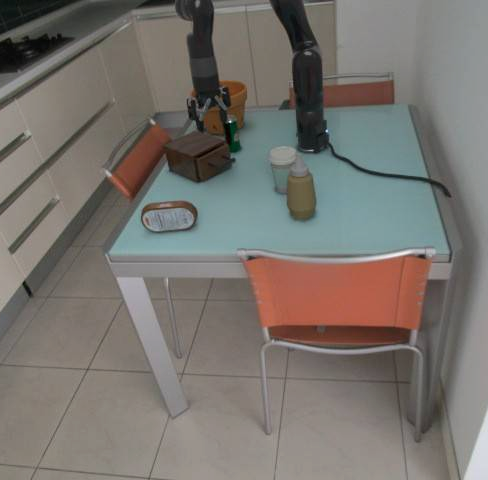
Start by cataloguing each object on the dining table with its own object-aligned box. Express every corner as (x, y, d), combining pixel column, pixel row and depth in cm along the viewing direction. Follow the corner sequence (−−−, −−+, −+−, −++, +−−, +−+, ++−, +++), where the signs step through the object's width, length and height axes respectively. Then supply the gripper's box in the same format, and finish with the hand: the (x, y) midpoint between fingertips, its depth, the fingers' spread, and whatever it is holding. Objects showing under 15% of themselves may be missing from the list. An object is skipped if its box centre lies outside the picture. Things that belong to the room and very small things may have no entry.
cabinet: (229, 165, 154) (225, 139, 149) (197, 182, 147) (192, 156, 141) (200, 154, 163) (195, 130, 157) (169, 170, 155) (163, 145, 150)
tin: (200, 223, 128) (194, 197, 123) (199, 230, 125) (193, 203, 120) (146, 228, 128) (138, 202, 123) (144, 235, 126) (135, 209, 121)
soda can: (238, 153, 161) (234, 120, 154) (225, 153, 162) (219, 120, 155) (242, 146, 165) (238, 114, 158) (228, 146, 166) (223, 114, 159)
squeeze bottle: (297, 226, 123) (292, 164, 112) (282, 212, 128) (276, 153, 118) (323, 216, 125) (321, 155, 114) (307, 203, 131) (304, 144, 120)
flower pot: (188, 138, 176) (180, 99, 167) (209, 116, 192) (202, 80, 183) (241, 139, 170) (235, 100, 161) (257, 117, 186) (253, 79, 177)
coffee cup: (303, 182, 141) (301, 146, 134) (295, 197, 134) (292, 159, 127) (276, 180, 143) (273, 144, 136) (267, 194, 137) (263, 157, 130)
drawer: (243, 169, 149) (240, 148, 145) (214, 186, 142) (210, 164, 138) (205, 155, 160) (201, 135, 156) (176, 170, 153) (171, 149, 149)
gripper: (192, 81, 123) (202, 138, 133) (232, 67, 131) (239, 122, 141) (175, 76, 128) (186, 132, 137) (215, 63, 135) (222, 116, 145)
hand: (213, 127), depth 139 cm, fingers open, 8 cm apart
